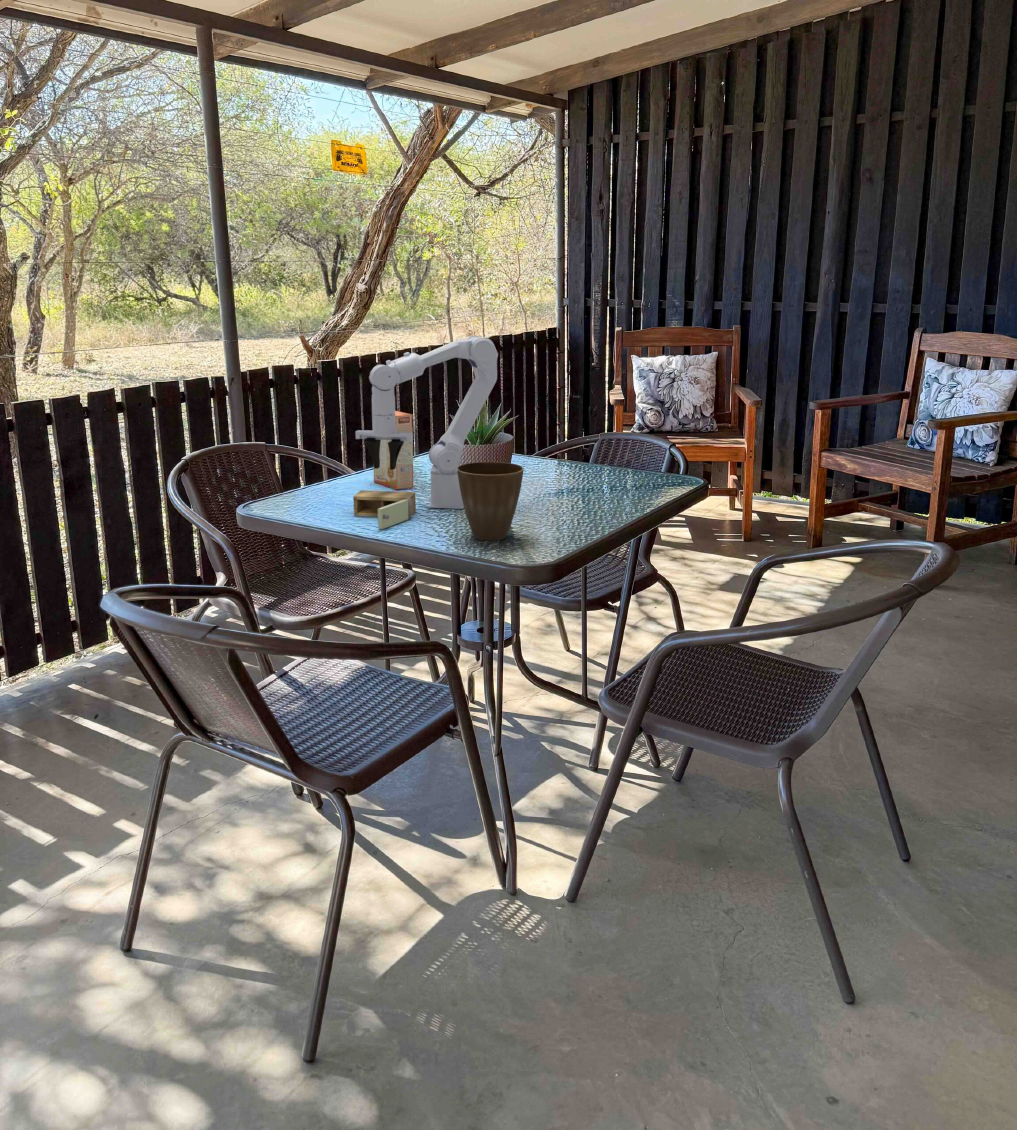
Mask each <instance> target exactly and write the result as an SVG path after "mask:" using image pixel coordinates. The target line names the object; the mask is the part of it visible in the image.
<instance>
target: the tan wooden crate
mask: <svg viewBox="0 0 1017 1130" xmlns="http://www.w3.org/2000/svg"><path fill="white" fill-rule="evenodd" d="M352 497H353V499H352V500H353V516H354V517H373V518H378V509H379V508H382V507H384V506H387V505H390V504H393V503H396V502H399V501H402V500H404V499H405V500H406V498H411V517H413V515H414V514H415V513H416V512H417V509H416V504H417V503H416V491H391V490H390V491H389V490H388V491H387V490H386V491H385V490H364V489H362V490H359V491H358V492H357V493H355V494H354V495H353V496H352Z"/></svg>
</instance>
